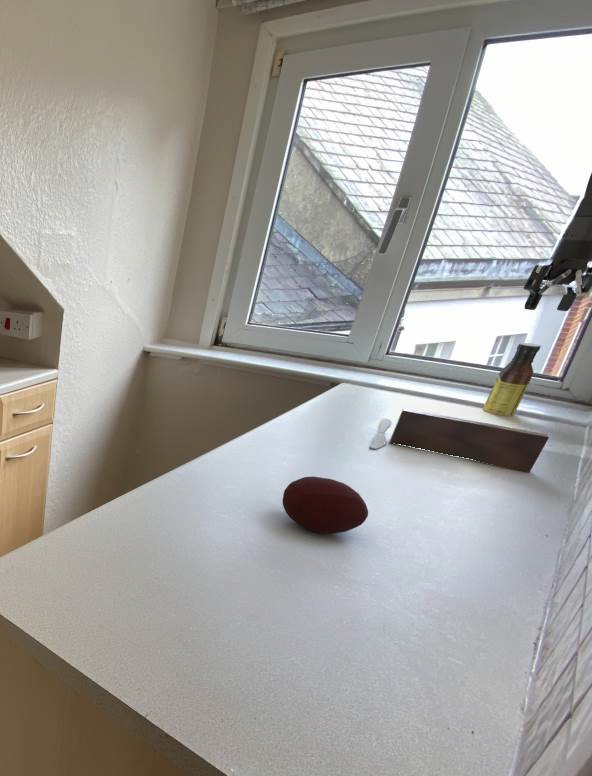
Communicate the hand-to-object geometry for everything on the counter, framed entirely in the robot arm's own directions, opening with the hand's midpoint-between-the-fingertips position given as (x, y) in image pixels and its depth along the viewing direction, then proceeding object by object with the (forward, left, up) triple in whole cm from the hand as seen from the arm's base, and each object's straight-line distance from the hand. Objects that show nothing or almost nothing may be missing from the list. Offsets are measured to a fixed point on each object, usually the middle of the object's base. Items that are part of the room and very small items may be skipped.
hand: (545, 310), depth 135 cm
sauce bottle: (0, +2, -28) cm, 28 cm away
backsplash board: (+10, +43, -28) cm, 52 cm away
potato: (+31, +101, -28) cm, 109 cm away
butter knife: (+24, +39, -28) cm, 53 cm away
